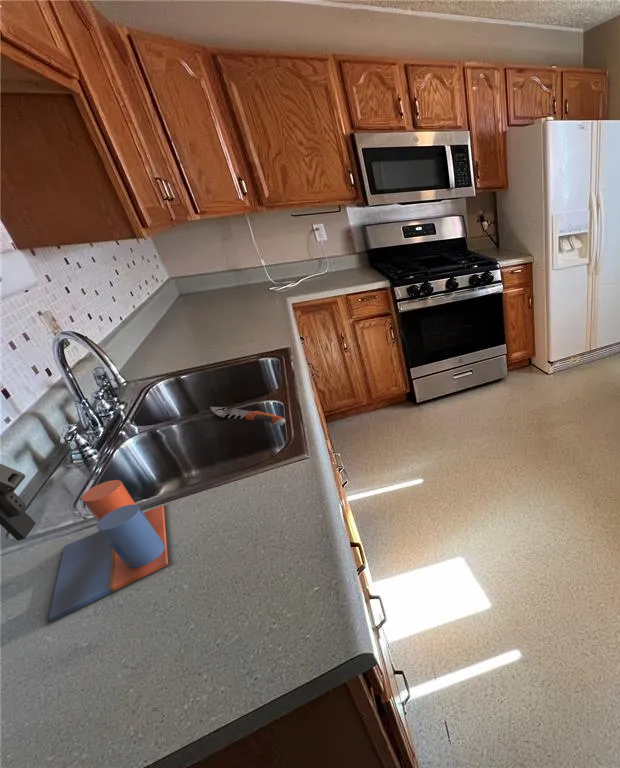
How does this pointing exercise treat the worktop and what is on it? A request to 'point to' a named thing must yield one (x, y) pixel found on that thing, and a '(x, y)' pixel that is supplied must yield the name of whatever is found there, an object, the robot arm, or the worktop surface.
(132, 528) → the blue canister
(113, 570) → the sorting board
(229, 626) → the worktop surface
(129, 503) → the orange canister
